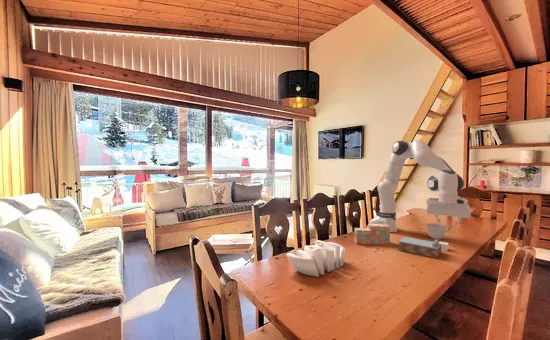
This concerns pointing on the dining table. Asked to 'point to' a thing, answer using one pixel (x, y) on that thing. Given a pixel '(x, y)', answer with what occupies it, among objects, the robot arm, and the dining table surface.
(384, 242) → the stack of blocks
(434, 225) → the teacup
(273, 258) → the dining table surface
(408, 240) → the lid
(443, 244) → the cube
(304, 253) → the wavy white extrusion
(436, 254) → the box
